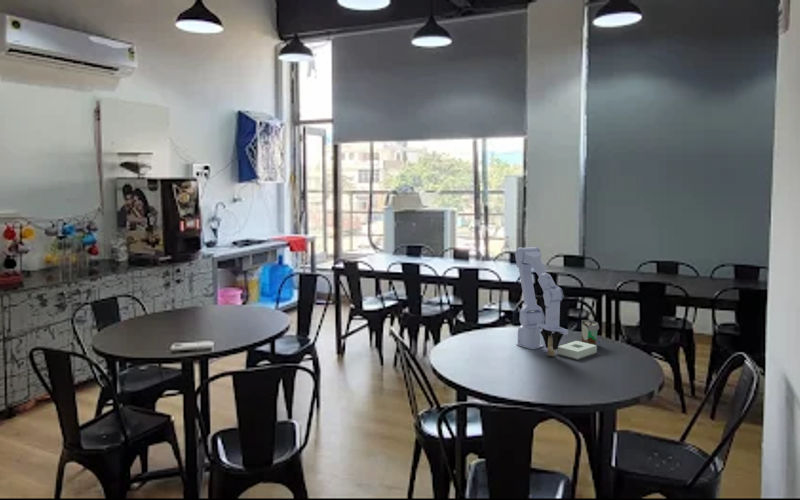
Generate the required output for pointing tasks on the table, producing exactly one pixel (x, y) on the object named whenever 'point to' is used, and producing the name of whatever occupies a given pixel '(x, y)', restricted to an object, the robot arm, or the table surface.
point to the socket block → (577, 350)
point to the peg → (550, 346)
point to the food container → (589, 331)
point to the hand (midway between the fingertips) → (551, 348)
